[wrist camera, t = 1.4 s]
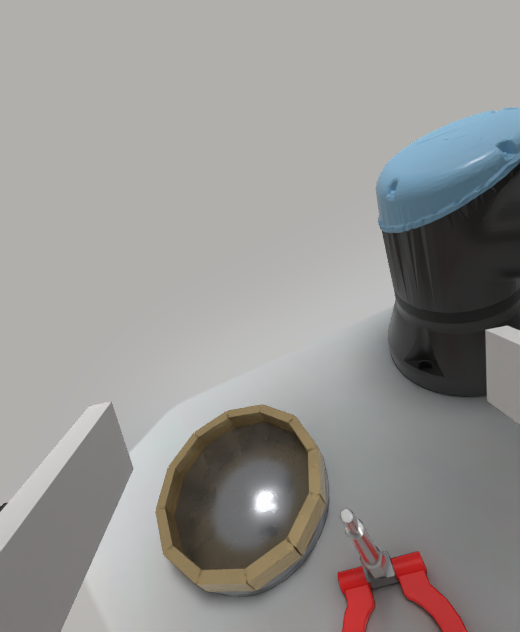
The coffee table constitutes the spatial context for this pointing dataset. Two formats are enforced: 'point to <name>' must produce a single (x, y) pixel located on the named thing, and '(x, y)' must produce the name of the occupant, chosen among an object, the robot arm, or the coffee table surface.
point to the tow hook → (388, 582)
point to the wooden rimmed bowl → (243, 501)
